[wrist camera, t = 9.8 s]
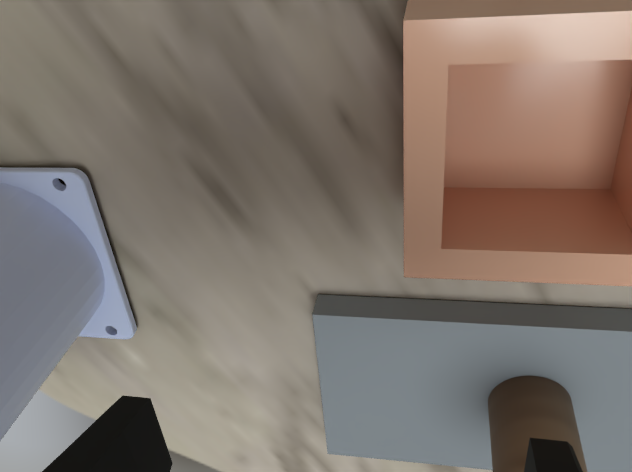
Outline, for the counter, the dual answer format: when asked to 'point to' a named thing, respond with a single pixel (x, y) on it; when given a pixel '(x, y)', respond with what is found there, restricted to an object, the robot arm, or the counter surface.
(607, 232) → the square hollow frame
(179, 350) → the counter surface
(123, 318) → the robot arm
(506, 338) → the board
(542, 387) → the peg
